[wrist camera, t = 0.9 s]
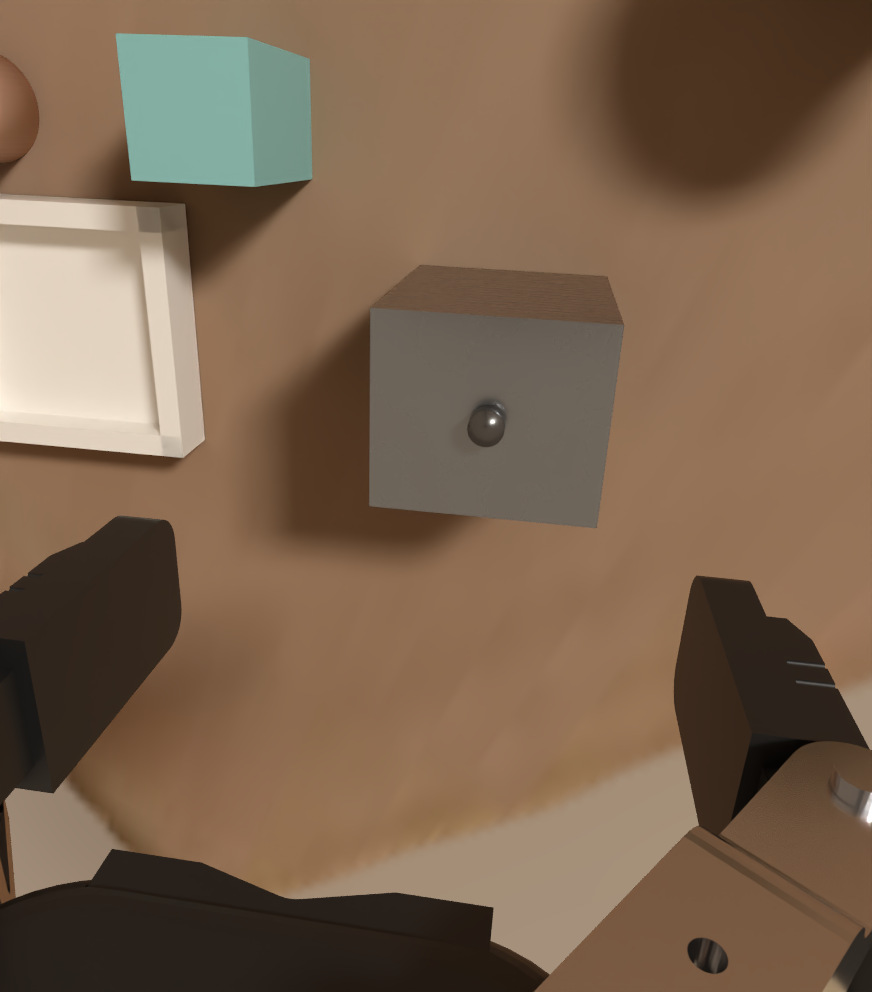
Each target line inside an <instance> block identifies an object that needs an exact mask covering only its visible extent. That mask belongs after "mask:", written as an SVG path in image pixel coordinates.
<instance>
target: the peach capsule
mask: <svg viewBox="0 0 872 992" xmlns="http://www.w3.org/2000/svg"><path fill="white" fill-rule="evenodd" d="M38 128H39V110H38V105H37V101H36V97H35V94H34V92H33V90H32V87H31V86H30V84H29V82H28V80H27V79H26V77H25V76H24V74H23V73H22V72H21V71H20V70H19V69H18V68H17V67H16V66H15V65H14V64H13V63H12V62H11V61H9V60H8V59H7V58H5V57H3V56H2V55H0V163H6V162H12V161H15V160H17V159H19V158H21V157H22V156H24V155H25V154H26V153H27V152H28V151H29V150H30V148H31V147H32V145H33V144H34V142H35V139H36V137H37V133H38Z"/></svg>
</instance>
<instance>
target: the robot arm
mask: <svg viewBox="0 0 872 992" xmlns="http://www.w3.org/2000/svg"><path fill="white" fill-rule="evenodd" d="M180 621H181V598H180V588H179V578H178V567H177V557H176V547H175V537H174V532H173V529H172V526H171V525H170V523H169V522H168V521H166V520H160V519H150V518H140V517H130V516H117V517H115V518H114V519H112V520H111V521H110V522H109V523H107V524H106V525H105V526H104V527H102V528H101V529H100V530H99V531H97V532H96V533H95V534H94V535H92V536H91V537H90V538H88V539H87V540H86V541H85V542H81V543H79V544H76V545H74V546H72V547H69V548H67V549H65V550H62V551H60V552H58V553H55V554H53V555H51V556H49V557H48V558H47V559H45V560H44V561H43V562H41V563H40V564H39V565H38V566H36V567H35V568H34V569H32V570H31V571H30V572H28V576H23V577H22V578H21V579H19V580H18V581H17V582H16V583H14V584H13V585H12V586H10V590H9V591H4V592H3V593H1V594H0V992H872V750H870V749H869V747H868V745H867V744H866V742H865V740H864V738H863V736H862V734H861V732H860V730H859V728H858V726H857V725H856V723H855V721H854V719H853V717H852V715H851V713H850V711H849V709H848V707H847V706H846V703H845V702H844V700H843V698H842V696H841V694H840V692H839V690H838V689H835V683H834V681H833V679H832V677H831V675H830V673H829V671H828V669H825V663H824V662H823V660H822V658H821V656H820V654H819V652H818V650H817V648H816V646H815V644H814V642H813V641H812V640H811V639H810V638H809V637H808V636H807V635H805V634H804V633H803V632H802V631H801V630H799V629H798V628H797V627H796V626H795V625H793V624H792V623H791V622H790V621H789V620H787V619H785V618H776V617H767V616H766V614H765V612H764V610H763V607H762V605H761V603H760V601H759V599H758V596H757V594H756V592H755V590H754V588H753V585H752V584H751V582H750V581H744V580H735V579H725V578H715V577H705V576H696V577H695V578H694V580H693V583H692V586H691V589H690V594H689V599H688V605H687V610H686V615H685V620H684V626H683V631H682V636H681V641H680V647H679V652H678V657H677V663H676V668H675V678H674V705H675V712H676V716H677V721H678V726H679V731H680V736H681V740H682V745H683V750H684V755H685V760H686V764H687V769H688V774H689V779H690V784H691V788H692V793H693V798H694V803H695V808H696V813H697V818H698V822H699V826H697V827H695V828H693V829H692V830H690V831H689V832H688V833H687V834H686V835H685V836H684V837H683V838H682V839H681V840H680V841H679V842H678V843H677V844H676V845H675V846H674V847H673V848H672V849H671V850H670V851H669V852H668V853H667V854H666V855H665V856H664V857H663V858H662V859H661V860H660V861H659V863H657V865H656V866H655V867H654V868H653V869H652V870H651V871H650V872H649V873H648V874H647V875H646V876H645V877H644V878H643V879H642V880H641V881H640V882H639V883H638V884H637V885H636V886H635V887H634V888H633V889H632V891H631V892H630V893H629V894H628V895H627V896H626V897H625V898H624V899H623V900H622V901H621V902H620V903H619V904H618V905H617V906H616V907H615V908H614V909H613V910H612V911H611V912H610V913H609V914H608V915H607V916H606V917H605V919H603V920H602V922H601V923H600V924H599V925H598V926H597V927H596V928H595V929H594V930H593V931H592V932H591V933H590V934H589V935H588V936H587V937H586V938H585V939H584V940H583V941H582V942H581V943H580V944H579V945H578V946H577V948H575V950H574V951H573V952H572V953H571V954H570V955H569V956H568V957H567V958H566V959H565V960H564V961H563V962H562V963H561V964H560V965H559V966H558V967H557V968H556V969H555V970H554V971H553V972H552V973H551V974H550V975H549V974H548V973H547V972H545V971H544V970H542V969H541V968H540V967H538V966H537V965H536V964H534V963H533V962H531V961H529V960H528V959H526V958H524V957H522V956H520V955H519V954H517V953H515V952H513V951H512V950H510V949H508V948H506V947H503V946H501V945H499V944H496V943H494V942H491V941H490V939H491V929H492V918H493V908H492V907H486V906H479V905H473V904H466V903H460V902H453V901H446V900H440V899H434V898H427V897H421V896H414V895H407V894H401V893H384V894H369V895H355V896H341V897H326V898H312V899H288V898H284V897H281V896H278V895H276V894H273V893H271V892H269V891H266V890H264V889H262V888H259V887H257V886H255V885H252V884H250V883H248V882H245V881H243V880H241V879H238V878H236V877H234V876H231V875H229V874H227V873H224V872H222V871H220V870H217V869H215V868H213V867H210V866H208V865H206V864H203V863H200V862H193V861H187V860H180V859H174V858H167V857H161V856H154V855H148V854H141V853H135V852H128V851H122V850H115V849H112V850H111V851H110V853H109V854H108V856H107V857H106V859H105V861H104V862H103V863H102V865H101V867H100V868H99V870H98V871H97V873H96V874H95V876H94V877H93V879H92V880H87V881H79V882H73V883H67V884H62V885H56V886H53V887H49V888H45V889H41V890H38V891H34V892H31V893H28V894H25V895H23V896H20V897H17V898H16V896H15V885H14V872H13V861H12V850H11V837H10V827H9V826H10V825H9V817H8V812H7V808H6V803H5V799H6V798H7V797H8V796H9V794H10V793H11V792H12V791H13V790H14V788H20V789H27V790H33V791H41V792H47V793H54V792H55V791H56V789H57V788H58V787H59V786H60V784H61V783H62V782H63V781H64V779H65V778H66V777H67V776H68V774H69V773H70V772H71V771H72V770H73V768H74V767H75V766H76V765H77V763H78V762H79V761H80V760H81V758H82V757H83V756H84V755H85V753H86V752H87V751H88V750H89V748H90V747H91V746H92V745H93V743H94V742H95V741H96V740H97V738H98V737H99V736H100V735H101V733H102V732H103V731H104V730H105V729H106V727H107V726H108V725H109V724H110V722H111V721H112V720H113V719H114V717H115V716H116V715H117V714H118V712H119V711H120V710H121V709H122V707H123V706H124V705H125V704H126V702H127V701H128V700H129V699H130V697H131V696H132V695H133V694H134V692H135V691H136V690H137V689H138V687H139V686H140V685H141V684H142V683H143V681H144V680H145V679H146V678H147V676H148V675H149V674H150V673H151V671H152V670H153V669H154V668H155V666H156V665H157V664H158V663H159V661H160V660H161V659H162V658H163V656H164V655H165V654H166V653H167V651H168V650H169V649H170V648H171V646H172V645H173V643H174V641H175V639H176V636H177V634H178V630H179V627H180Z"/></svg>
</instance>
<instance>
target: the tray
mask: <svg viewBox="0 0 872 992" xmlns="http://www.w3.org/2000/svg"><path fill="white" fill-rule="evenodd" d="M204 440H205V436H204V424H203V412H202V400H201V388H200V376H199V364H198V352H197V340H196V328H195V316H194V304H193V292H192V280H191V268H190V256H189V244H188V232H187V220H186V208H185V204H181V203H163V202H145V201H126V200H108V199H89V198H71V197H52V196H34V195H15V194H0V441H6V442H16V443H27V444H38V445H49V446H60V447H71V448H82V449H93V450H103V451H114V452H125V453H136V454H147V455H158V456H169V457H179V458H184V457H185V456H186V455H187V454H188V453H190V452H191V451H192V450H193V449H194V448H196V447H197V446H198V445H199V444H200V443H202V442H203V441H204Z"/></svg>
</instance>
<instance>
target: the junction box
mask: <svg viewBox="0 0 872 992" xmlns="http://www.w3.org/2000/svg"><path fill="white" fill-rule="evenodd" d="M623 330H624V323H623V320H622V317H621V315H620V312H619V309H618V306H617V303H616V300H615V298H614V295H613V292H612V289H611V286H610V283H609V281H608V278H607V277H605V276H589V275H572V274H556V273H540V272H523V271H507V270H491V269H474V268H458V267H442V266H425V265H420V266H419V267H417V268H416V269H415V270H414V271H413V272H412V273H410V274H409V275H408V276H407V277H406V278H405V279H403V280H402V281H401V282H400V283H399V284H398V285H396V286H395V287H394V288H393V289H392V290H391V291H389V292H388V293H387V294H386V295H385V296H384V297H382V298H381V299H380V300H379V301H378V302H377V303H375V304H374V305H373V306H372V307H371V308H370V448H369V506H372V507H382V508H393V509H403V510H413V511H424V512H434V513H444V514H455V515H465V516H476V517H486V518H496V519H507V520H517V521H527V522H538V523H548V524H558V525H569V526H579V527H589V528H597V522H598V515H599V508H600V500H601V493H602V485H603V478H604V471H605V463H606V456H607V449H608V441H609V434H610V426H611V419H612V412H613V404H614V397H615V389H616V382H617V375H618V367H619V360H620V352H621V345H622V338H623Z"/></svg>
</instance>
